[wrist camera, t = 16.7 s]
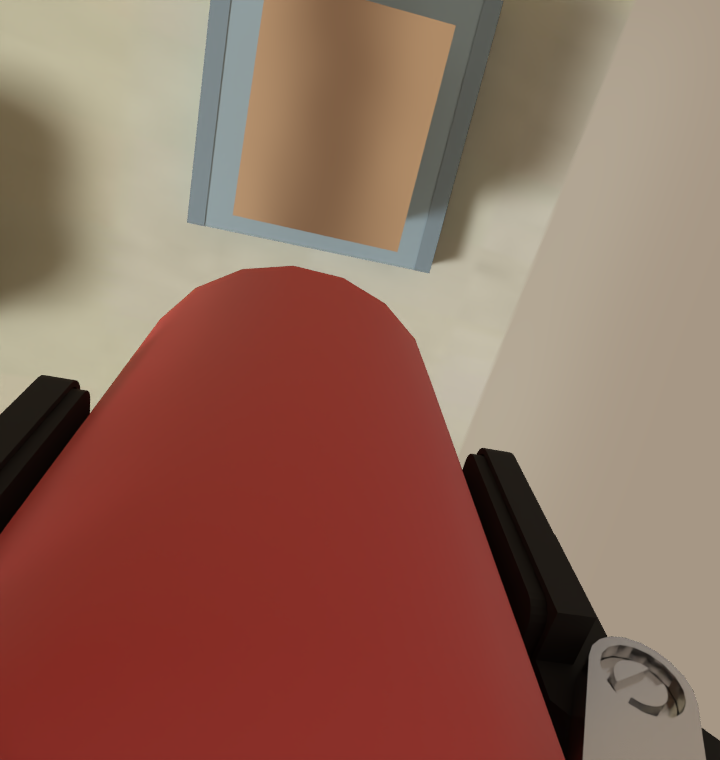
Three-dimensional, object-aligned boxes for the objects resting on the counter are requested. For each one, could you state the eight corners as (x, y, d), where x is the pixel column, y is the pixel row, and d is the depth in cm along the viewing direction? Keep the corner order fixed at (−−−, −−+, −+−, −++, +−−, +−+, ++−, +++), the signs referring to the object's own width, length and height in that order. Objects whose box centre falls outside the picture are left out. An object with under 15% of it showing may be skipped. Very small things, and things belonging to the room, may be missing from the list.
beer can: (335, 197, 12) (384, 938, 2) (474, 437, 15) (863, 1351, 4) (80, 353, 14) (-921, 1401, 3) (250, 550, 16) (88, 1495, 5)
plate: (424, 265, 32) (429, 273, 31) (193, 216, 30) (187, 222, 29) (494, 6, 27) (503, 1, 26) (224, -68, 26) (218, -78, 24)
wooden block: (429, 41, 26) (456, 25, 21) (384, 224, 30) (397, 252, 24) (280, 0, 26) (267, -28, 20) (251, 193, 29) (232, 215, 23)
